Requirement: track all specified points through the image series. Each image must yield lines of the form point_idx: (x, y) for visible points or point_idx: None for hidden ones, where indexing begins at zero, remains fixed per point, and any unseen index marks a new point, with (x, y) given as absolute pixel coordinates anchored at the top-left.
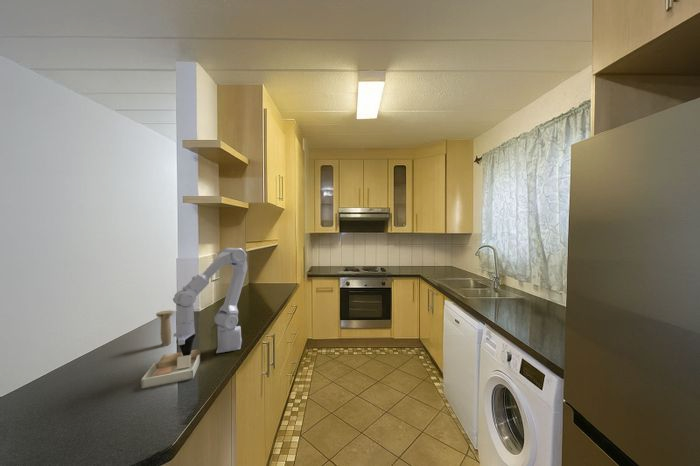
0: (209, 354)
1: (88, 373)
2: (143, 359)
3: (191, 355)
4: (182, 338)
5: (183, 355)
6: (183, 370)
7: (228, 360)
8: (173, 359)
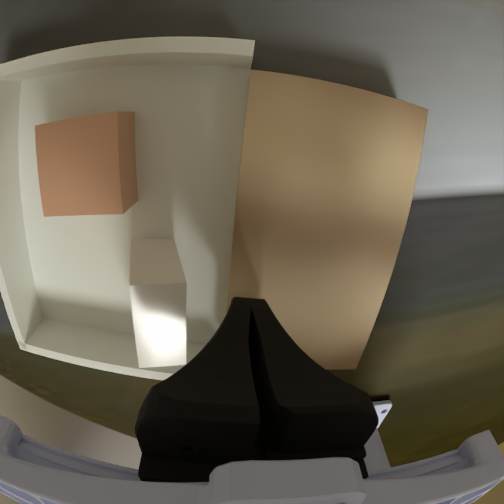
0: None
1: None
2: (481, 6)
3: None
4: (25, 495)
5: (231, 304)
6: (123, 274)
7: None
8: (264, 205)
